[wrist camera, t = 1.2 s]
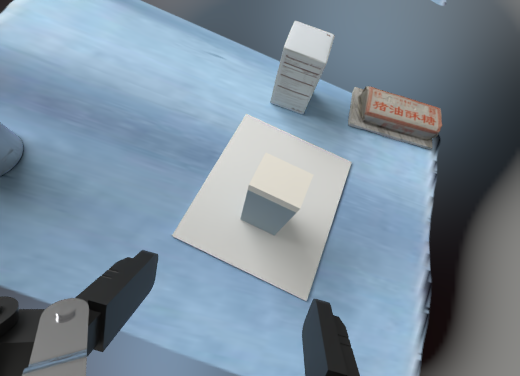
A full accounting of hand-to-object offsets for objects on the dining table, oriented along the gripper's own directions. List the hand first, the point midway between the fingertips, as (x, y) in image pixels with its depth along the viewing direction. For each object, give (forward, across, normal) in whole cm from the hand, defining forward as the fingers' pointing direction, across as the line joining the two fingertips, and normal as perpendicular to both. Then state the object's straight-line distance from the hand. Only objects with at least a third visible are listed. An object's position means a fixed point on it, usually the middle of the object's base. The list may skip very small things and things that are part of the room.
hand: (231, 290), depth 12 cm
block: (+27, -1, +7) cm, 28 cm away
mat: (+30, -2, +4) cm, 30 cm away
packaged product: (+47, -22, -14) cm, 54 cm away
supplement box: (+44, 0, -13) cm, 46 cm away
